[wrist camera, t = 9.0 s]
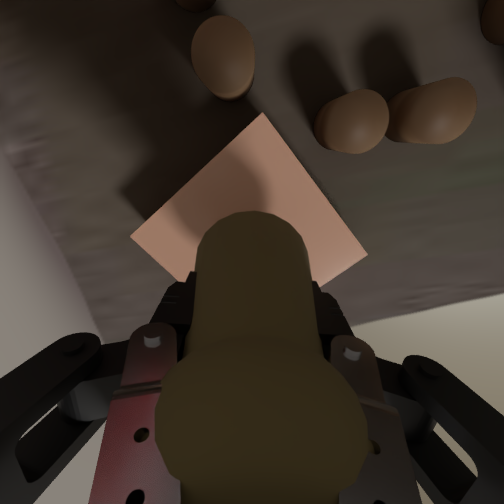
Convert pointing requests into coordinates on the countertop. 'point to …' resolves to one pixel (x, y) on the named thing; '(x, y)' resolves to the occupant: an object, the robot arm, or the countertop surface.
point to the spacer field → (354, 103)
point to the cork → (257, 379)
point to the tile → (250, 205)
